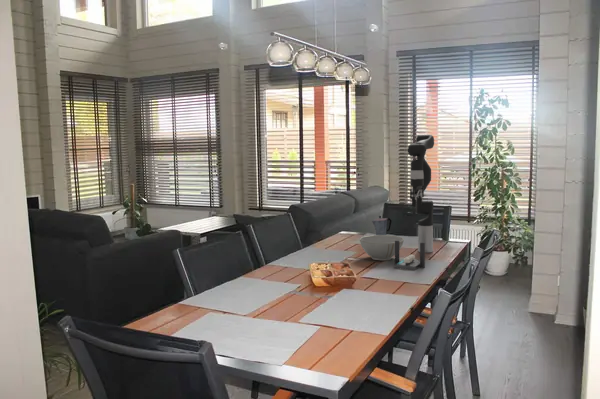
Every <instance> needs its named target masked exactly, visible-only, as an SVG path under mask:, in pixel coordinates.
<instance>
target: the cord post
mask: <svg viewBox="0 0 600 399" xmlns="http://www.w3.org/2000/svg"><path fill="white" fill-rule="evenodd" d="M425 254H426V253H425V243H420V252H419V260H420V267H419V269H425V267H426V265H425V263H426V255H425Z"/></svg>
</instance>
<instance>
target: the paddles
mask: <svg viewBox="0 0 600 399" xmlns="http://www.w3.org/2000/svg"><path fill="white" fill-rule="evenodd" d="M403 259H404V262H405V263H410V261H413V260H416V256H415V254H408V255H406V257H403Z"/></svg>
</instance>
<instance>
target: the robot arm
mask: <svg viewBox="0 0 600 399" xmlns="http://www.w3.org/2000/svg"><path fill="white" fill-rule="evenodd" d="M434 146H435V139H434V135H432V134H418V135H416V138H415V143H410V144H409V145H408V146H407V153H408V155H409V156H411V157H416V159H413V160H411V161H410V187H412V188H410V189H409V199H410V200H411V206H412V207H415V212H416V214H417V215H418V216H419V215H420V216H421V215H424V216H426V215H427V216H426V217H425V218H422V219H419V220H418V221H417V223H418V225H417V226H418V227H417V229H418V230H417V234H418V236H417V237H418V240H417V247H418V248H417V249H418V250H417V251H418V252H419V253H420V243H425V254H426V253H433V252H434V202H433V200H429V199H428V200H423V198H424V197H425V191H426V189H427V187H429V185H430V183H431V181H432V169H431V166H430V165H429V163H428V161H427V160H426V159H425V156H426V153H427V150H431V149H433V148H434Z"/></svg>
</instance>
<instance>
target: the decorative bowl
mask: <svg viewBox="0 0 600 399" xmlns="http://www.w3.org/2000/svg"><path fill="white" fill-rule="evenodd" d="M395 241H399V251H400V250H401V249H402V247H403V244H404V241H405V238H403V237H402V236H399V235H398V236H397V235H390V234H389V235H388V234H387V235H376V234H375V235H374V234H373V235H366V236H362V237H360V238H359V242H360V246H361V248H362V249H363V250H364V252H365V253H366V254H367V255H368V256H370V257H371V259H372V260H374V261H390V260H391V259H392V258H393V257H395Z"/></svg>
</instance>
